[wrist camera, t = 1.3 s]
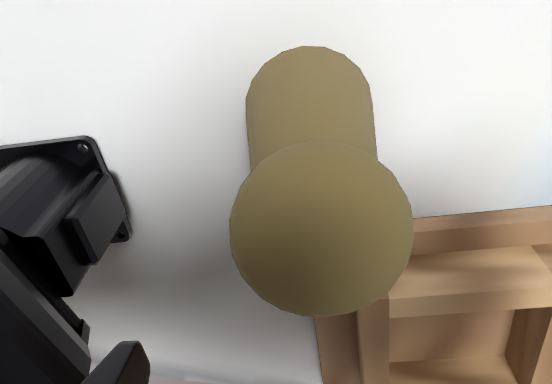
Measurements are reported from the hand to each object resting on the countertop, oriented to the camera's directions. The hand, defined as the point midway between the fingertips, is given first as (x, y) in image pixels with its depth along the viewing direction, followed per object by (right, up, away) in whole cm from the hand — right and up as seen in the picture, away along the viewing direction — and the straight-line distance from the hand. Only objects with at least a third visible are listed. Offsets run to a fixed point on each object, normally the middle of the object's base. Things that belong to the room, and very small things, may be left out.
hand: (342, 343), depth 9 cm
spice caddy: (+9, -4, +18) cm, 20 cm away
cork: (0, +7, +11) cm, 13 cm away
